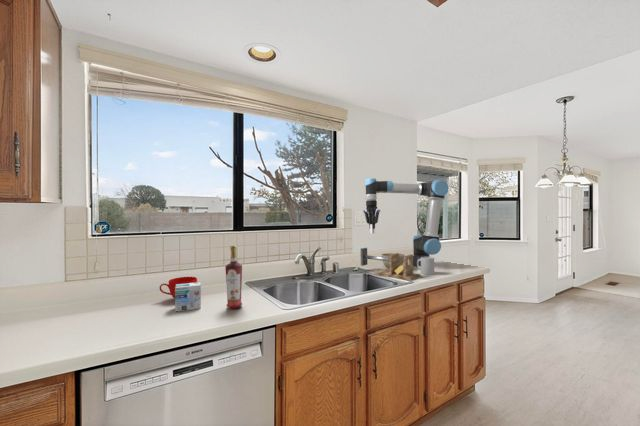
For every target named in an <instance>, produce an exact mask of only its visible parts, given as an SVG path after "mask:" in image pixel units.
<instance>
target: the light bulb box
mask: <svg viewBox="0 0 640 426" xmlns="http://www.w3.org/2000/svg"><path fill="white" fill-rule="evenodd" d="M201 284H202V283H201V282H200V281H197V282H196V283H186V284H176V287H175V299H174V311H175V313H176V311H178V312H183V311H185V310H186V311H192V310H193V311H194V310H201V308H202V303H201V302H202V287H201Z"/></svg>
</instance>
